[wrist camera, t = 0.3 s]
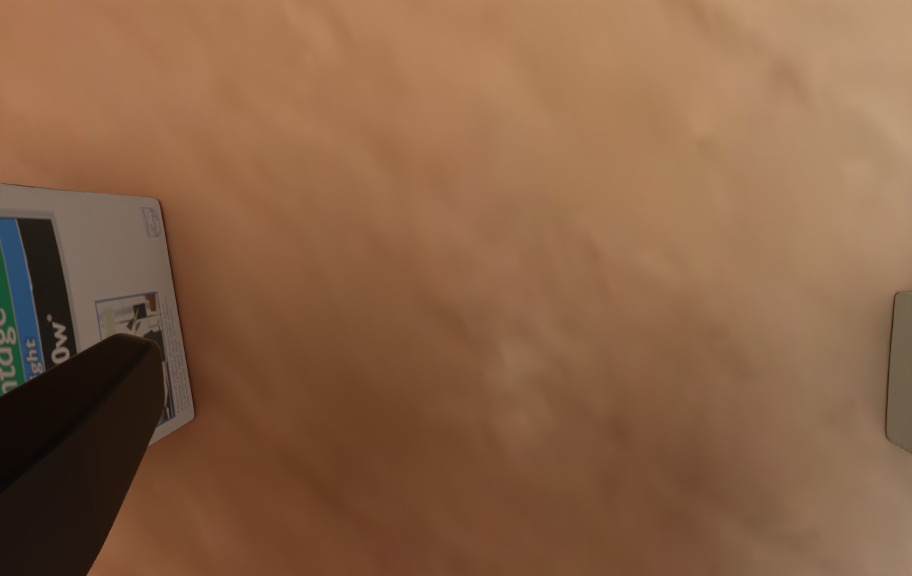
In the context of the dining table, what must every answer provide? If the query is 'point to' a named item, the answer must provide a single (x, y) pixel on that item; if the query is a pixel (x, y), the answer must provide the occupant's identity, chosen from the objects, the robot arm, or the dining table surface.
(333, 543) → the dining table surface
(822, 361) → the dining table surface
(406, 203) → the dining table surface
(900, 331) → the skincare box
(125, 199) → the light bulb box
